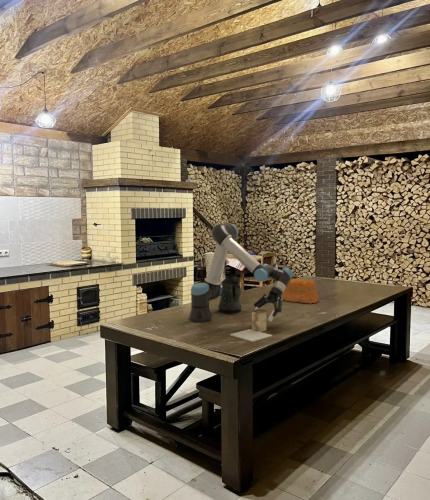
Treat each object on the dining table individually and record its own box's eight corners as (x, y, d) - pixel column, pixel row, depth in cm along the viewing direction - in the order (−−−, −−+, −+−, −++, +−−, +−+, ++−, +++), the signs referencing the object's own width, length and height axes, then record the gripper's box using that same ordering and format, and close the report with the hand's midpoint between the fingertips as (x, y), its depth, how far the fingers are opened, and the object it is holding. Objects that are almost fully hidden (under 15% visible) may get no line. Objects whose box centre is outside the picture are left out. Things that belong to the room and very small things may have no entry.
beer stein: (225, 307, 324) (225, 273, 322) (249, 310, 314) (249, 275, 312) (214, 312, 310) (213, 276, 308) (238, 315, 300) (238, 278, 298)
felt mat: (229, 335, 251) (229, 334, 251) (249, 330, 262) (249, 329, 261) (252, 342, 238) (252, 340, 237) (272, 336, 248) (272, 335, 248)
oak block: (251, 330, 261) (251, 310, 260) (258, 328, 265) (258, 308, 264) (259, 332, 257) (259, 311, 256) (266, 330, 261) (266, 310, 260)
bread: (312, 304, 330) (312, 282, 329) (281, 301, 345) (281, 279, 344) (320, 301, 343) (320, 279, 342) (289, 297, 358) (289, 276, 357)
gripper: (296, 296, 262) (280, 325, 253) (265, 291, 280) (249, 318, 272) (290, 288, 258) (274, 318, 249) (259, 284, 276) (242, 311, 268)
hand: (260, 318), depth 260 cm, fingers open, 13 cm apart
